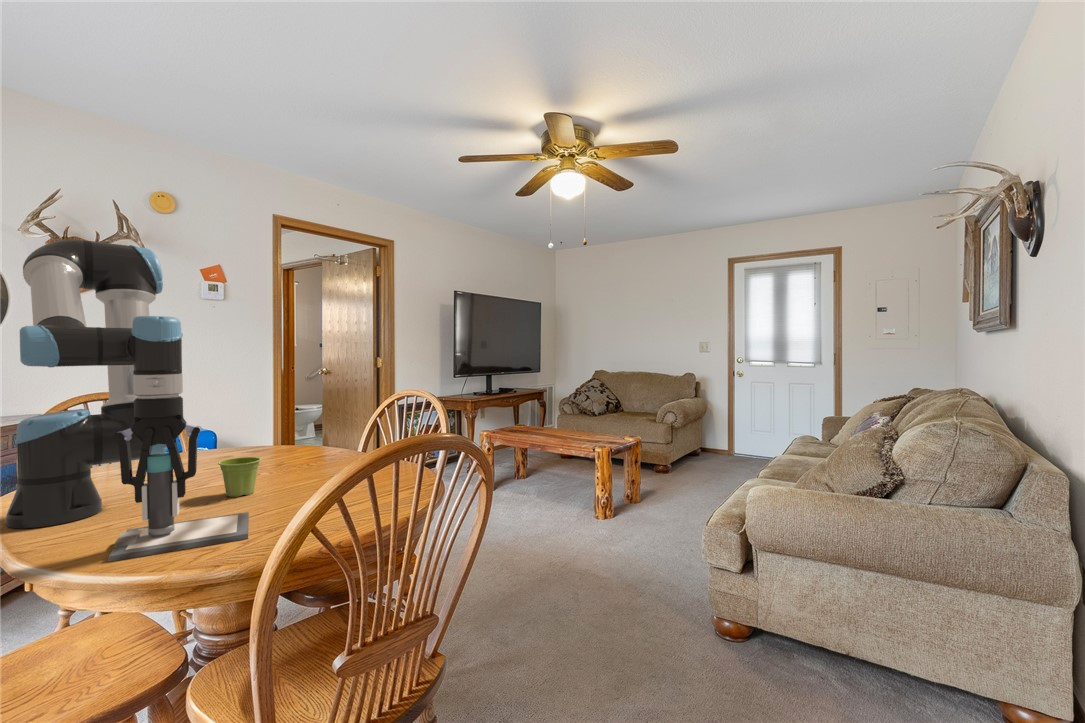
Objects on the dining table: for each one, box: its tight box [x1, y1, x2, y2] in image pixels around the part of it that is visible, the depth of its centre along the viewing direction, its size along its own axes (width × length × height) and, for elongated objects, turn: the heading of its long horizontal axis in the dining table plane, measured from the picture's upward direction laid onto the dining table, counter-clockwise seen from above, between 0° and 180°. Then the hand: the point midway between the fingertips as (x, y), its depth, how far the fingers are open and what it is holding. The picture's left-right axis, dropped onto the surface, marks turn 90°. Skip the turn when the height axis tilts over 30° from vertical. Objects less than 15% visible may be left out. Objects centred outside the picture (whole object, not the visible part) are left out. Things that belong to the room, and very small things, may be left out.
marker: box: [146, 452, 175, 535], centre depth 96 cm, size 4×4×15 cm
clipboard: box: [108, 511, 250, 563], centre depth 98 cm, size 21×15×2 cm
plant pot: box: [217, 456, 262, 498], centre depth 128 cm, size 9×9×9 cm
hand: (161, 516), depth 96 cm, fingers closed on marker, 4 cm apart
